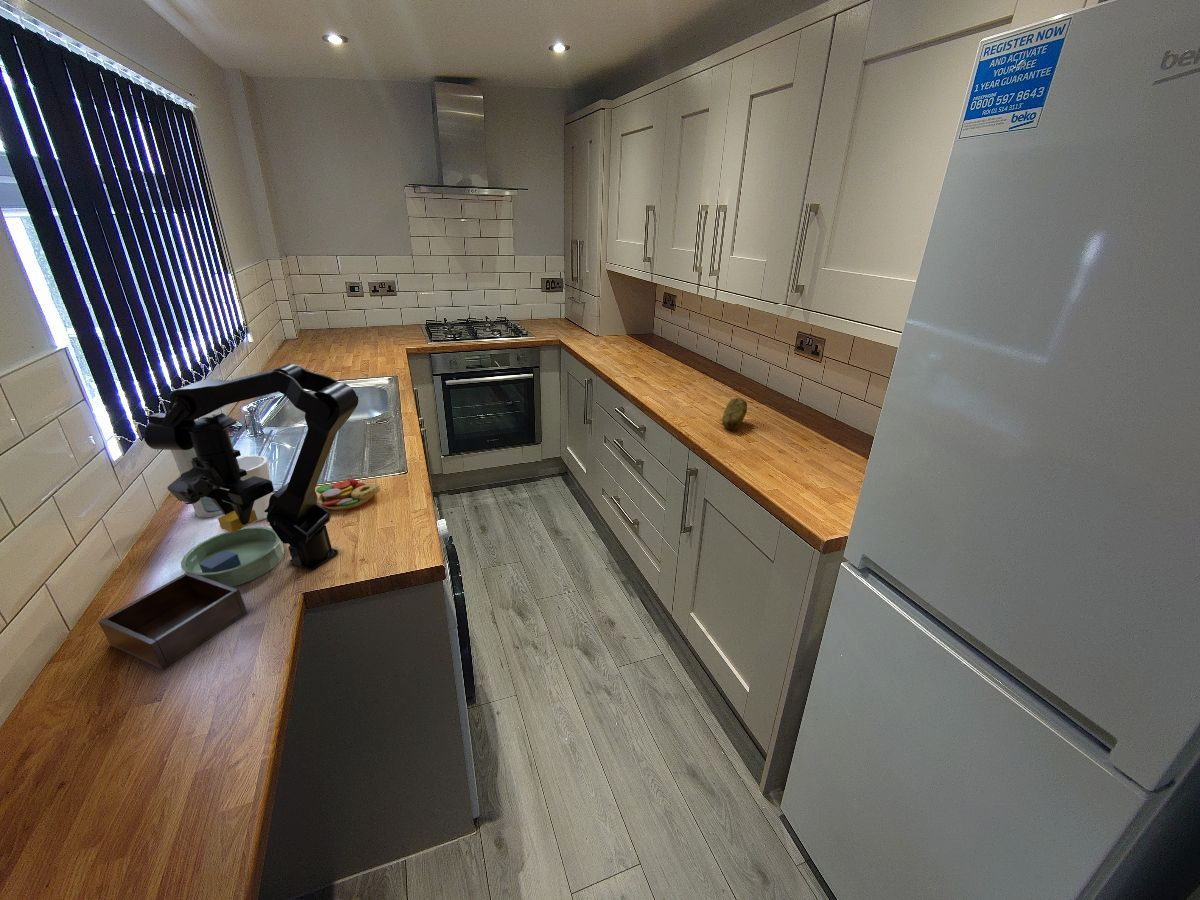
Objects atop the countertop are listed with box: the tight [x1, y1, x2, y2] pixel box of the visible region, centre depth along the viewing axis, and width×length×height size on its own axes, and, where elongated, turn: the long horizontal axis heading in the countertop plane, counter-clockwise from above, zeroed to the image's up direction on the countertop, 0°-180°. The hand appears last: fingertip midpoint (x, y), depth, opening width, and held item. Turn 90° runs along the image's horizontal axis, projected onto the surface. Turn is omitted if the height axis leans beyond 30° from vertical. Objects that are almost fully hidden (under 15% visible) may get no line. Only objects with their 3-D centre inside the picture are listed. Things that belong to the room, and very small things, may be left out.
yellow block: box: [217, 509, 258, 533], centre depth 103 cm, size 5×4×2 cm
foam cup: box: [236, 454, 274, 522], centre depth 119 cm, size 10×9×13 cm
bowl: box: [180, 526, 285, 588], centre depth 104 cm, size 16×16×4 cm
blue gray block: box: [199, 550, 241, 573], centre depth 101 cm, size 5×4×2 cm
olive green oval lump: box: [721, 397, 748, 431], centre depth 168 cm, size 8×13×8 cm, turn 139°
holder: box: [97, 572, 248, 671], centre depth 87 cm, size 14×14×5 cm
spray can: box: [170, 448, 223, 519], centre depth 120 cm, size 6×6×20 cm
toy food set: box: [316, 478, 381, 511], centre depth 127 cm, size 13×13×3 cm
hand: (238, 521), depth 103 cm, fingers closed on yellow block, 3 cm apart
